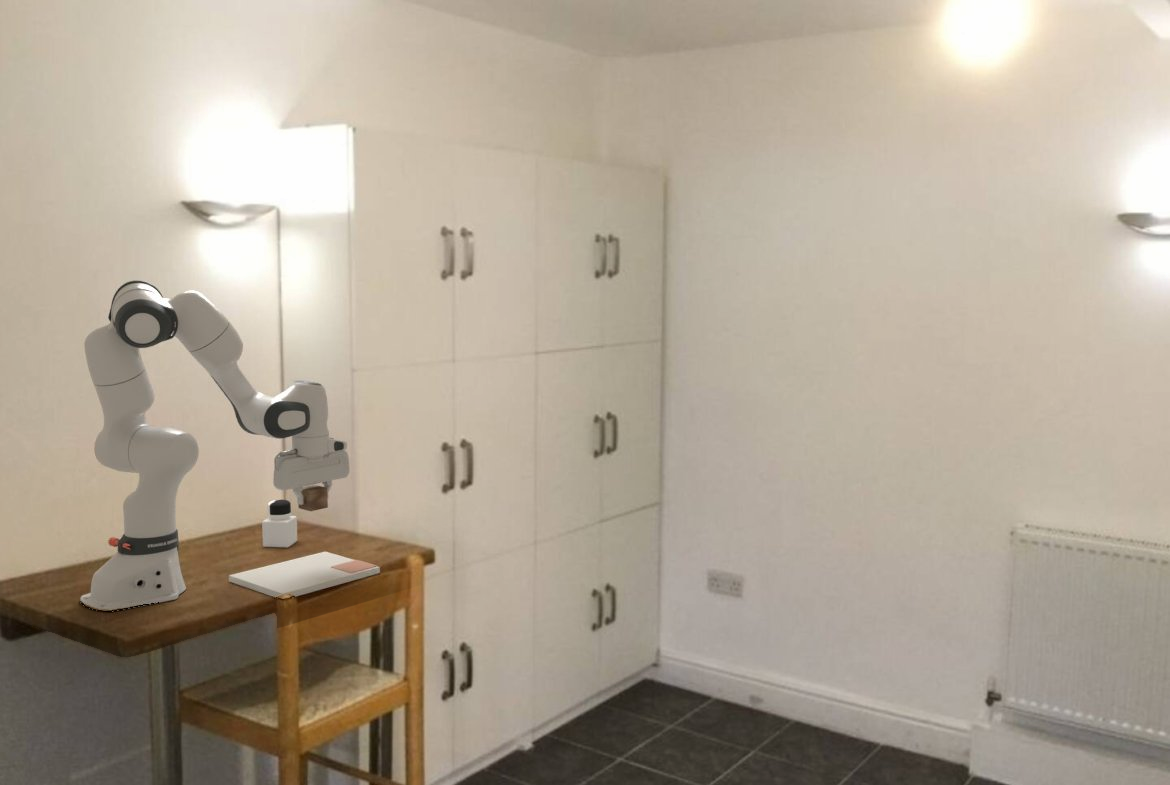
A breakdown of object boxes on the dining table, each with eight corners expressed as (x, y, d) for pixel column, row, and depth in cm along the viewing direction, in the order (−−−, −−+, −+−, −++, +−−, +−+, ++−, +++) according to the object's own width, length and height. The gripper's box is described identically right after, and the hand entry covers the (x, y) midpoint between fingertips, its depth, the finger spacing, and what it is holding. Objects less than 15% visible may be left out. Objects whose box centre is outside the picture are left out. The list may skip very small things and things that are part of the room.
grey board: (282, 600, 242) (282, 592, 242) (229, 581, 256) (228, 574, 256) (379, 572, 264) (379, 566, 264) (325, 557, 278) (325, 550, 278)
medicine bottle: (297, 541, 294) (296, 498, 292) (288, 547, 287) (286, 504, 285) (272, 540, 294) (271, 497, 293) (262, 547, 287) (261, 503, 286)
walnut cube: (310, 511, 260) (310, 491, 259) (298, 508, 263) (297, 488, 262) (327, 507, 263) (327, 487, 263) (315, 504, 266) (314, 484, 266)
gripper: (282, 454, 251) (284, 511, 253) (352, 441, 266) (354, 495, 268) (266, 451, 255) (269, 507, 257) (336, 438, 270) (338, 492, 272)
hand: (313, 501), depth 263 cm, fingers closed on walnut cube, 5 cm apart
